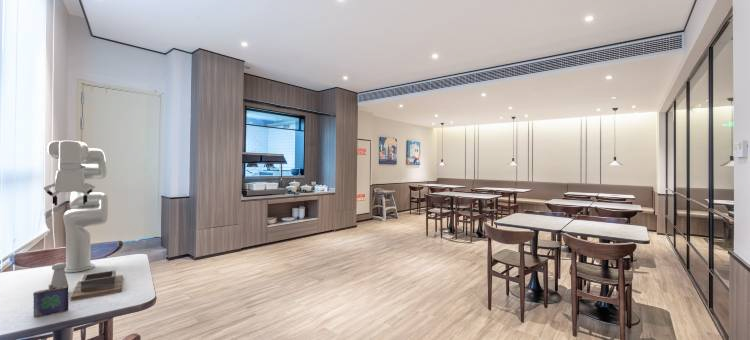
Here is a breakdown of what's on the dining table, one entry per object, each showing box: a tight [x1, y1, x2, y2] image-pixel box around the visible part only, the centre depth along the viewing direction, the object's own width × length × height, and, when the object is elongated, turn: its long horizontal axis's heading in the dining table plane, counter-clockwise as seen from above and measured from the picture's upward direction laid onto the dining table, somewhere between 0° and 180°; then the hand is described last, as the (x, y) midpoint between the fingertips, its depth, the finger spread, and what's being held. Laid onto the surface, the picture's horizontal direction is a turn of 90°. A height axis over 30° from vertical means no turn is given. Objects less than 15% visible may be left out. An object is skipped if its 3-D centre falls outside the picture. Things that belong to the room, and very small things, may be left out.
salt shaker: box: [50, 262, 69, 288], centre depth 138 cm, size 6×6×13 cm
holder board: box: [70, 269, 124, 302], centre depth 145 cm, size 22×16×6 cm
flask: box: [33, 283, 70, 318], centre depth 120 cm, size 9×3×11 cm, turn 129°
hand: (70, 204), depth 151 cm, fingers open, 9 cm apart
